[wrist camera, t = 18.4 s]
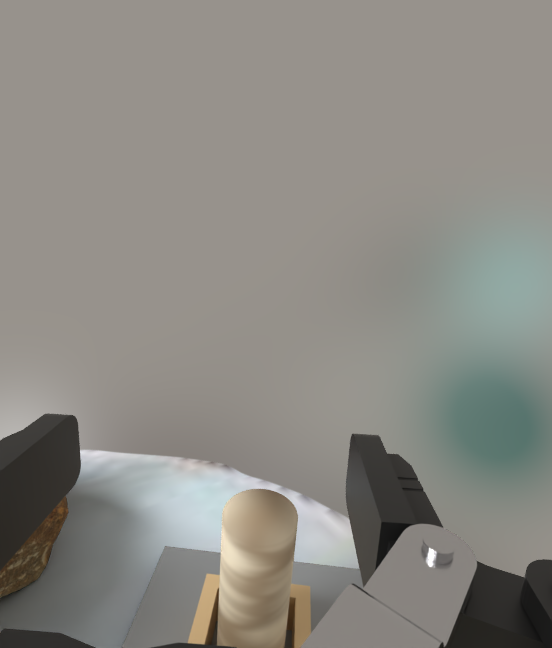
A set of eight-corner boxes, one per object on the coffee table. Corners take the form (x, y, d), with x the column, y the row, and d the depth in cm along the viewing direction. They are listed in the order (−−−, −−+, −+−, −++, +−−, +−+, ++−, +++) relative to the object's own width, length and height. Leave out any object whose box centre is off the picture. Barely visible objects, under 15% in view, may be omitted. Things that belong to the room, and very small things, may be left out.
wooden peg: (208, 703, 27) (214, 539, 24) (223, 630, 32) (230, 485, 28) (279, 713, 27) (297, 549, 23) (283, 638, 32) (298, 493, 28)
